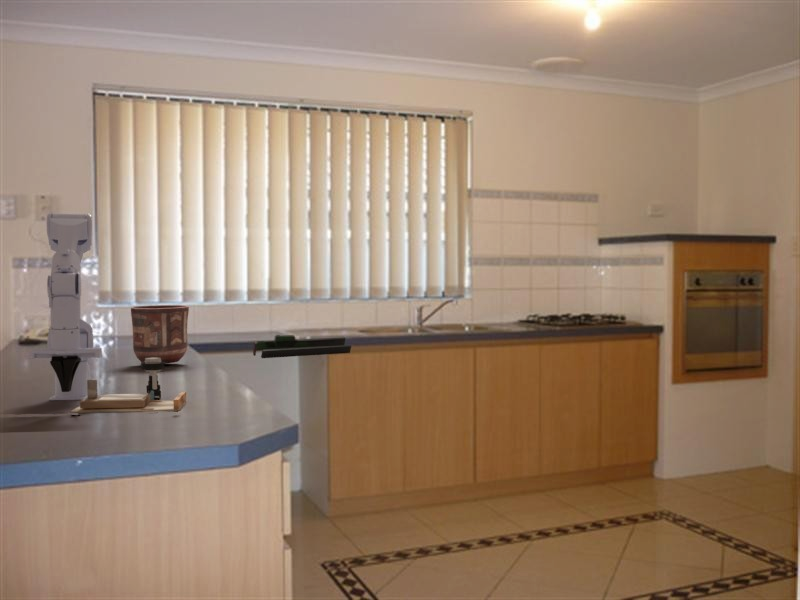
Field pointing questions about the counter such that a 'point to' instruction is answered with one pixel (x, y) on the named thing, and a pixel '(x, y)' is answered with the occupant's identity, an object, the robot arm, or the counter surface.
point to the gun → (300, 347)
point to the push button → (153, 376)
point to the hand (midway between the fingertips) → (66, 391)
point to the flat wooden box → (151, 406)
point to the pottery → (160, 332)
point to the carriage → (112, 399)
